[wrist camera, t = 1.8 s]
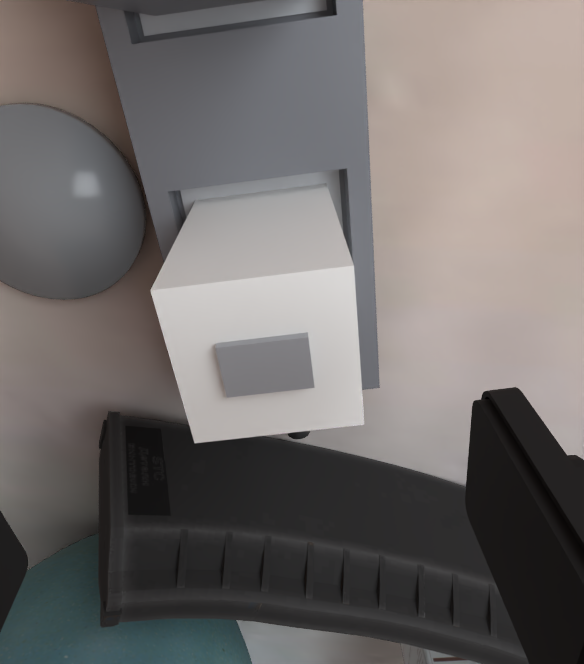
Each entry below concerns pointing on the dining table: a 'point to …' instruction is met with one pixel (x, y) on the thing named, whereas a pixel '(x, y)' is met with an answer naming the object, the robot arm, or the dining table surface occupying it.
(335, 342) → the block
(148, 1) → the block
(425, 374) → the dining table surface
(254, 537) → the magazine
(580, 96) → the dining table surface
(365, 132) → the power strip
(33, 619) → the teal bowl
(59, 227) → the slate coaster
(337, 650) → the dining table surface
